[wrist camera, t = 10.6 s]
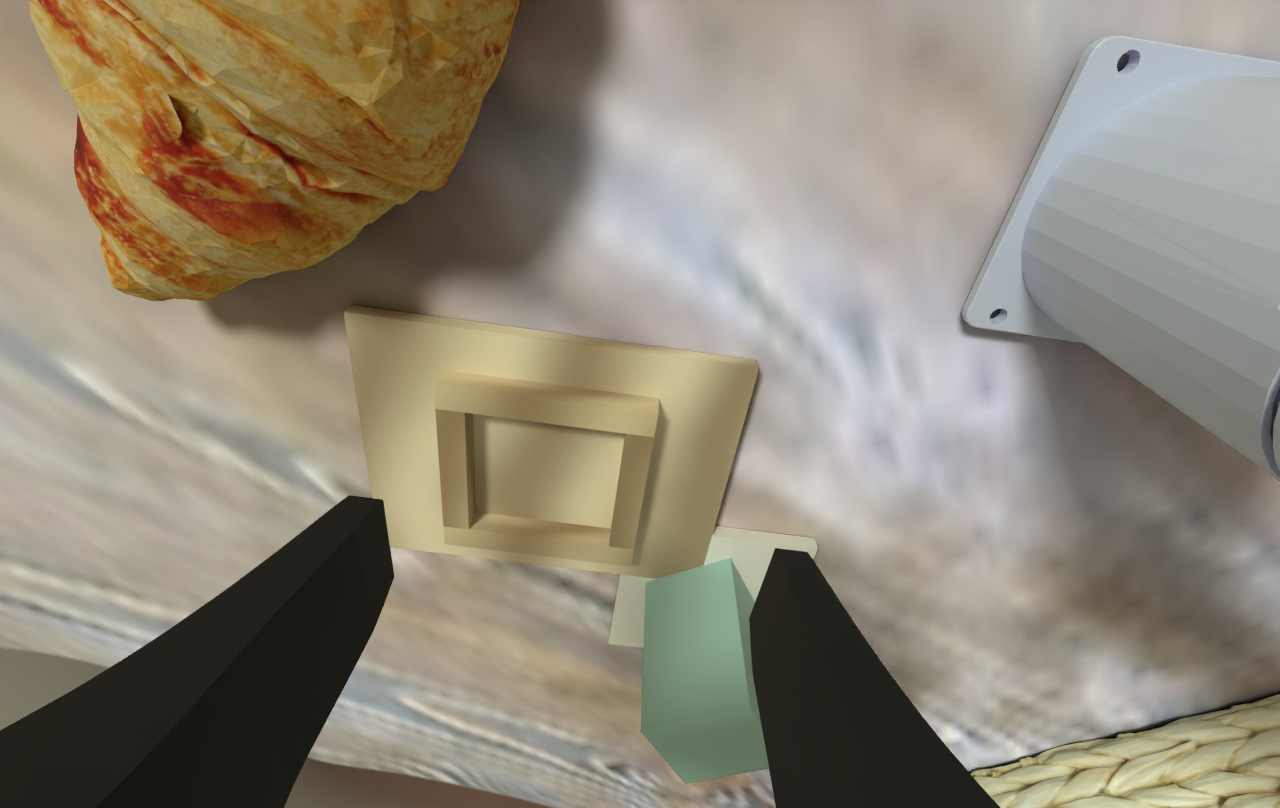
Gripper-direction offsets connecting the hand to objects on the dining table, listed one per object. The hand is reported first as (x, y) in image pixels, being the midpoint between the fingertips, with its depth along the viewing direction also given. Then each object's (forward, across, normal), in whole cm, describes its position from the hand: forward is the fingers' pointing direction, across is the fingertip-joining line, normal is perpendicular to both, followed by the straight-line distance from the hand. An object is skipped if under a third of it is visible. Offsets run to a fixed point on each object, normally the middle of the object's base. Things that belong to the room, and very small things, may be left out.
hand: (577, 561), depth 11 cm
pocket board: (+10, +2, +6) cm, 12 cm away
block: (+10, -5, +12) cm, 17 cm away
